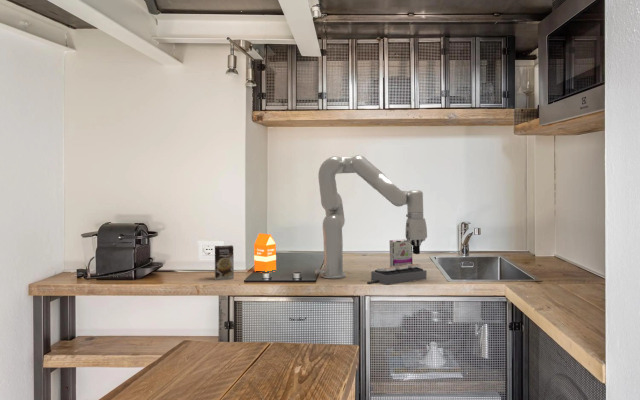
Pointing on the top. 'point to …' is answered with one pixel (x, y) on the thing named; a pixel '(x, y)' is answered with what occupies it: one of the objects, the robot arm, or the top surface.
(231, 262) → the coffee box
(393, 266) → the rocker middle
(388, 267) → the rocker left
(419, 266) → the rocker right
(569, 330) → the top surface
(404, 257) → the candy bar box
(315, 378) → the top surface
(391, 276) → the power strip
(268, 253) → the orange juice
